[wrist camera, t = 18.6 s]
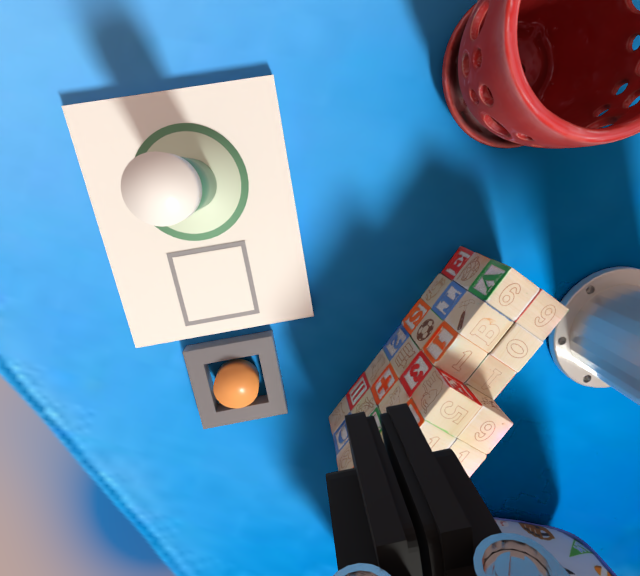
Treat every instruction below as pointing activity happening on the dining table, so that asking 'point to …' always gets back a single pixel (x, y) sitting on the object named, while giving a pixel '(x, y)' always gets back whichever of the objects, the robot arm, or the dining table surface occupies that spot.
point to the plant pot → (544, 72)
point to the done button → (236, 383)
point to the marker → (166, 187)
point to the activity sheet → (208, 222)
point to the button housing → (227, 350)
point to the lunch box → (560, 547)
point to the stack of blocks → (455, 358)
